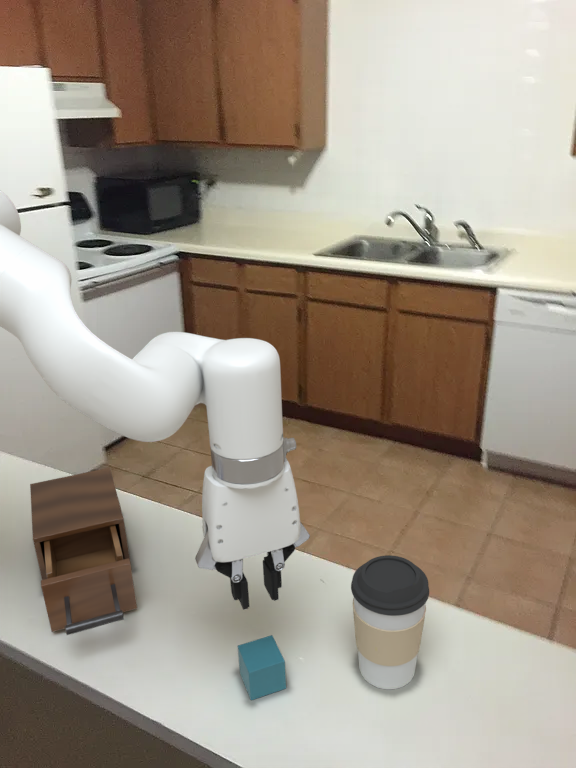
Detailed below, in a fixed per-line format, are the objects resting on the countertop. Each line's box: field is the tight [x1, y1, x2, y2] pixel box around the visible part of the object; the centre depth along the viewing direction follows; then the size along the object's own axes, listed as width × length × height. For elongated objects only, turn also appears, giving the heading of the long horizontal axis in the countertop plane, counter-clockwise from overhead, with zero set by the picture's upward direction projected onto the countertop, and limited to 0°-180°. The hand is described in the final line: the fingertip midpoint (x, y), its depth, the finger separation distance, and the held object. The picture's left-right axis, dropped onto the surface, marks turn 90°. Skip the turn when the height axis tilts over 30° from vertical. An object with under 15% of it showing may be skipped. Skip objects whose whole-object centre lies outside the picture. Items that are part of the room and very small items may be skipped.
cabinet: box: [29, 467, 133, 580], centre depth 104 cm, size 16×13×10 cm
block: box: [237, 634, 287, 701], centre depth 81 cm, size 4×4×4 cm
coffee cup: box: [350, 554, 430, 690], centre depth 80 cm, size 9×9×15 cm
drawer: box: [40, 525, 138, 636], centre depth 93 cm, size 21×11×8 cm, turn 21°
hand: (256, 595), depth 76 cm, fingers closed
